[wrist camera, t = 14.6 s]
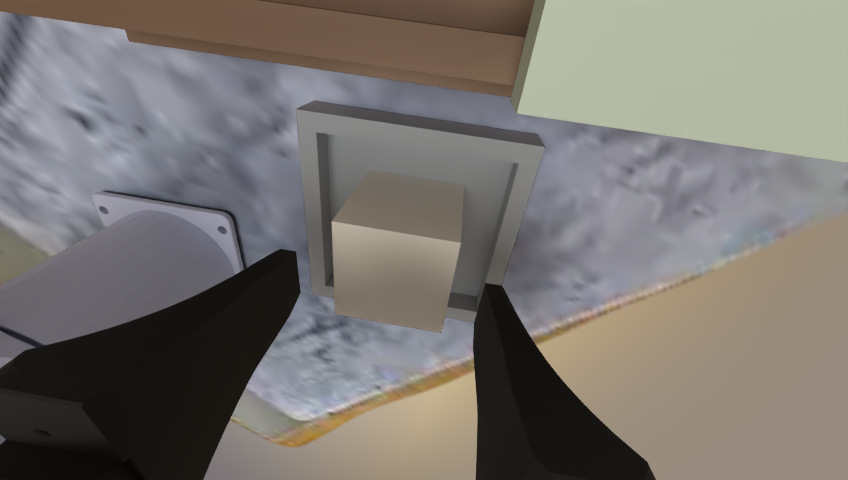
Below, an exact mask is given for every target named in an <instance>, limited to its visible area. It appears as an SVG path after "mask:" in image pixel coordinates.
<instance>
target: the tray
mask: <svg viewBox="0 0 848 480" xmlns="http://www.w3.org/2000/svg"><path fill="white" fill-rule="evenodd" d="M296 119H297V130H298V141H299V152H300V163H301V175H302V186H303V197H304V208H305V219H306V230H307V241H308V253H309V264H310V275H311V286H312V294H314V295H319V296H325V297H331V298H335V297H334V271H333V244H332V220H333V219H334V217H335V216H336V215H337V213H338V212H339V211H340V209H341V208H342V206H343V205H344V204H345V202H346V201H347V200H348V198H349V197H350V195H351V194H352V193H353V191H354V190H355V188H356V187H357V186H358V184H359V183H360V182H361V180H362V179H363V177H364V176H365V175H366V173H367V172H368V171H369V170H375V171H381V172H388V173H394V174H400V175H406V176H412V177H419V178H425V179H431V180H437V181H444V182H450V183H456V184H462V185H464V197H463V215H462V232H461V245H460V250H459V254H458V259H457V263H456V268H455V273H454V277H453V282H452V287H451V291H450V296H449V301H448V305H447V310H446V314H445V317H446V318H451V319H457V320H463V321H468V322H474V321H475V318H476V314H477V310H478V307H479V303H480V300H481V296H482V293H483V289H484V286H485V283H489V284H495V285H501V284H502V281H503V278H504V275H505V272H506V268H507V265H508V262H509V259H510V256H511V253H512V250H513V246H514V243H515V240H516V237H517V234H518V231H519V228H520V224H521V221H522V218H523V215H524V212H525V209H526V205H527V202H528V199H529V196H530V193H531V190H532V187H533V183H534V180H535V177H536V174H537V171H538V168H539V165H540V161H541V158H542V155H543V152H544V149H545V146H544V144H543V143H542V141H541V139H540V138H539V136H538V135H537V134H530V133H524V132H517V131H510V130H504V129H497V128H491V127H484V126H477V125H471V124H464V123H457V122H451V121H444V120H437V119H431V118H424V117H417V116H411V115H404V114H397V113H391V112H384V111H377V110H371V109H364V108H358V107H351V106H344V105H338V104H331V103H324V102H318V101H312V102H310V103H308V104H306V105H304V106H301V107H299V108H297V109H296Z"/></svg>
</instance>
